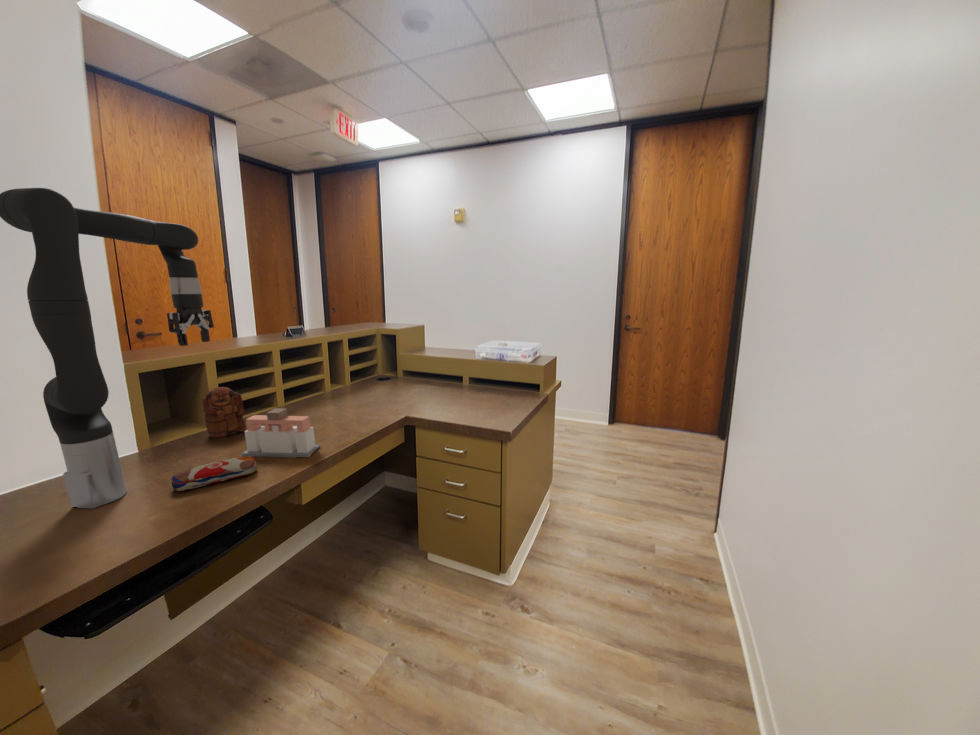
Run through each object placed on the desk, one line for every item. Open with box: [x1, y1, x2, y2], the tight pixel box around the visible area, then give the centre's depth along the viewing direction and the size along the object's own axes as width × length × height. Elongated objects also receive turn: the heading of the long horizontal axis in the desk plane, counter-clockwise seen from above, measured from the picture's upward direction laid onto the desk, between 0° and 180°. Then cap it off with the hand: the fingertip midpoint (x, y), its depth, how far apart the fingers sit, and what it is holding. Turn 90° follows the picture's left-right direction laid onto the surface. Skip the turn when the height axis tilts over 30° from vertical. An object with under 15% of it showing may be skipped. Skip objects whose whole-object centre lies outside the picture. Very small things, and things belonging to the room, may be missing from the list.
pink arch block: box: [245, 407, 311, 432], centre depth 122 cm, size 4×19×6 cm, turn 87°
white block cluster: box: [241, 424, 321, 458], centre depth 124 cm, size 8×22×10 cm, turn 87°
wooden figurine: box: [202, 386, 246, 438], centre depth 138 cm, size 12×6×18 cm, turn 134°
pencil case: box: [169, 456, 258, 492], centre depth 106 cm, size 11×20×5 cm, turn 111°
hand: (195, 343), depth 121 cm, fingers open, 8 cm apart
